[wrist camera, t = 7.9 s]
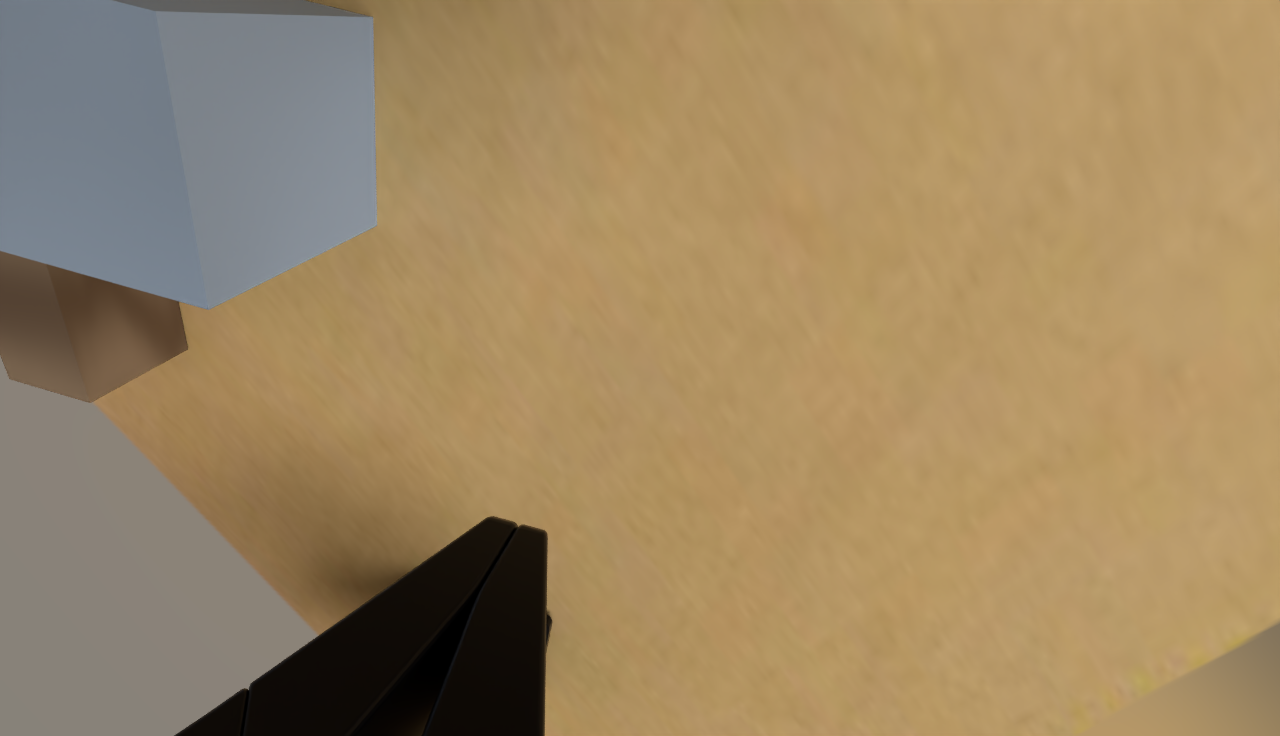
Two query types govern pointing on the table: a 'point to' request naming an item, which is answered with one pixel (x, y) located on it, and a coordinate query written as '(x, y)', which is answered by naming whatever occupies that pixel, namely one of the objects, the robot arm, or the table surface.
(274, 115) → the block
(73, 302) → the board
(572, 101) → the table surface
